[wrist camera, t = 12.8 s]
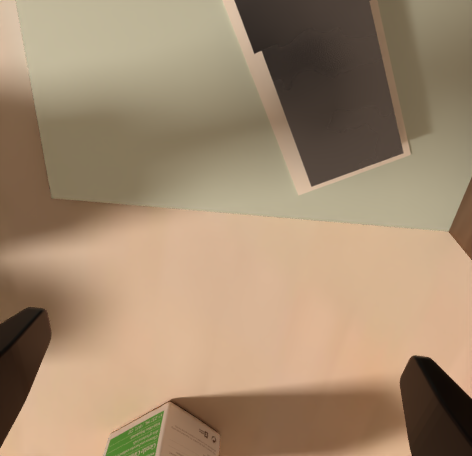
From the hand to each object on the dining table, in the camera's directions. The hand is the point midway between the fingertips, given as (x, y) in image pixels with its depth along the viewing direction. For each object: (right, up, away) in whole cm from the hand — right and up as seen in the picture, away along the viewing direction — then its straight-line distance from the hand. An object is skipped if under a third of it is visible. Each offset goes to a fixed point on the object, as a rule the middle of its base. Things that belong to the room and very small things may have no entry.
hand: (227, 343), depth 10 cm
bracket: (+4, +10, +8) cm, 14 cm away
